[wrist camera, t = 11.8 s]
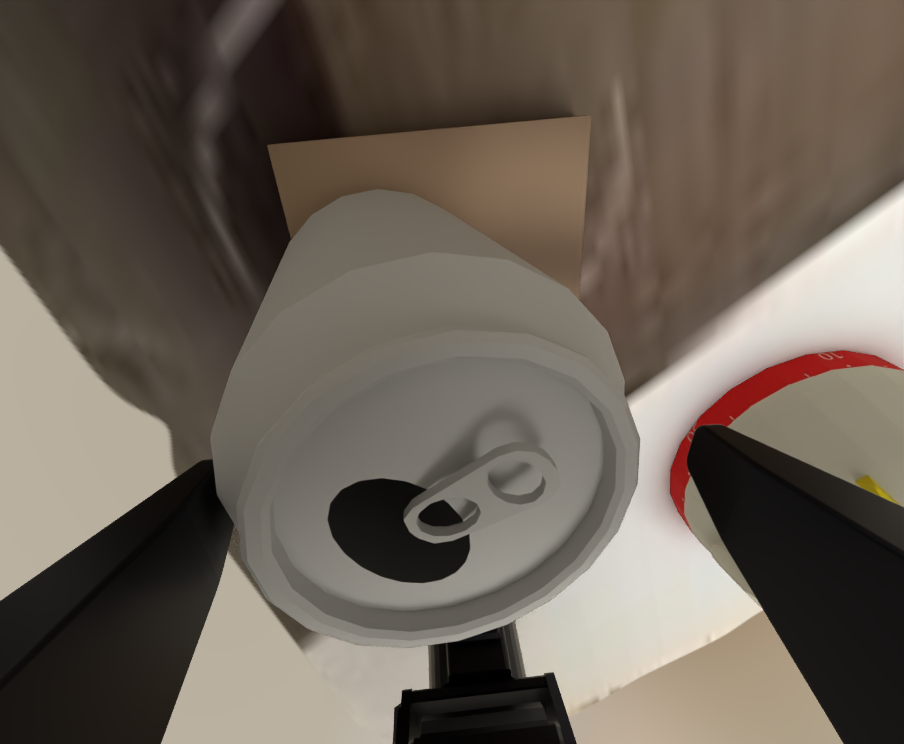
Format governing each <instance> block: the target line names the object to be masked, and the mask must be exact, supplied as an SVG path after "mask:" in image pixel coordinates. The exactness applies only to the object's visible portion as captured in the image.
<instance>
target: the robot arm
mask: <svg viewBox="0 0 904 744" xmlns="http://www.w3.org/2000/svg"><path fill="white" fill-rule="evenodd" d="M687 468H688V471H689V473H690V475H691V477H692V479H693V481H694V483H695V486H696V488H697V490H698V492H699V494H700V496H701V498H702V500H703V503H704V505H705V507H706V509H707V511H708V513H709V515H710V517H711V520H712V522H713V524H714V526H715V528H716V530H717V532H718V534H719V536H720V538H721V540H722V541H723V543H724V545H725V547H726V548H727V550H728V552H729V554H730V555H731V557H732V559H733V560H734V562H735V564H736V565H737V567H738V569H739V570H740V572H741V574H742V575H743V577H744V579H745V580H746V582H747V584H748V585H749V587H750V589H751V590H752V592H753V594H754V595H755V597H756V599H757V600H758V602H759V604H760V605H761V607H762V609H763V610H764V612H765V613H766V615H767V617H768V619H769V620H770V622H771V623H772V625H773V627H774V628H775V630H776V632H777V634H778V635H779V637H780V638H781V640H782V642H783V643H784V645H785V647H786V649H787V650H788V652H789V653H790V655H791V657H792V658H793V660H794V662H795V663H796V665H797V667H798V668H799V670H800V672H801V673H802V675H803V677H804V678H805V680H806V682H807V683H808V685H809V687H810V688H811V690H812V692H813V693H814V695H815V697H816V698H817V700H818V702H819V703H820V705H821V707H822V708H823V710H824V712H825V713H826V715H827V717H828V718H829V720H830V722H831V723H832V725H833V727H834V728H835V730H836V732H837V733H838V735H839V737H840V738H841V740H842V742H843V743H844V744H904V507H903V506H900V505H898V504H896V503H894V502H892V501H889V500H887V499H885V498H883V497H881V496H878V495H876V494H874V493H872V492H870V491H867V490H865V489H863V488H861V487H859V486H856V485H854V484H852V483H850V482H847V481H845V480H843V479H841V478H839V477H836V476H834V475H832V474H830V473H828V472H825V471H823V470H821V469H819V468H817V467H814V466H812V465H810V464H808V463H806V462H803V461H801V460H799V459H797V458H795V457H792V456H790V455H788V454H786V453H783V452H781V451H779V450H777V449H775V448H772V447H770V446H768V445H766V444H764V443H761V442H759V441H757V440H755V439H753V438H750V437H748V436H746V435H744V434H742V433H739V432H737V431H735V430H733V429H731V428H728V427H726V426H724V425H721V424H710V425H701V426H698V427H697V428H696V430H695V432H694V435H693V438H692V442H691V445H690V448H689V451H688V455H687ZM233 526H234V523H233V521H232V519H231V518H230V516H229V514H228V513H227V511H226V509H225V508H224V506H223V504H222V503H221V501H220V499H219V497H218V496H217V492H216V483H215V474H214V466H213V459H210V460H202V461H200V462H198V463H197V464H195V465H194V466H193V467H191V468H190V469H188V470H187V471H185V472H184V473H183V474H181V475H180V476H178V477H177V478H175V479H174V480H173V481H171V482H170V483H169V484H167V485H166V486H164V487H163V488H161V489H160V490H158V491H157V492H155V493H154V494H153V495H152V496H150V497H148V498H147V499H145V500H144V501H143V502H141V503H140V504H138V505H137V506H135V507H134V508H133V509H131V510H130V511H128V512H127V513H125V514H124V515H123V516H121V517H120V518H118V519H117V520H115V521H114V522H113V523H111V524H110V525H108V526H107V527H105V528H104V529H103V530H101V531H100V532H98V533H97V534H96V535H94V536H93V537H91V538H90V539H88V540H87V541H85V542H84V543H82V544H81V545H80V546H78V547H77V548H75V549H74V550H72V551H71V552H70V553H68V554H67V555H65V556H64V557H62V558H61V559H60V560H58V561H57V562H55V563H54V564H53V565H51V566H50V567H48V568H47V569H45V570H44V571H42V572H41V573H40V574H38V575H37V576H35V577H34V578H33V579H31V580H30V581H28V582H27V583H25V584H24V585H23V586H21V587H20V588H18V589H17V590H15V591H14V592H12V593H11V594H9V595H8V596H7V597H5V598H4V599H3V600H1V601H0V744H161V742H162V739H163V736H164V734H165V731H166V728H167V725H168V723H169V720H170V717H171V714H172V712H173V709H174V706H175V704H176V700H177V698H178V695H179V692H180V690H181V687H182V684H183V682H184V679H185V675H186V673H187V670H188V668H189V665H190V662H191V660H192V657H193V654H194V651H195V648H196V646H197V643H198V640H199V638H200V635H201V632H202V629H203V627H204V624H205V621H206V618H207V615H208V613H209V610H210V607H211V605H212V602H213V599H214V596H215V594H216V591H217V588H218V585H219V581H220V578H221V575H222V571H223V567H224V563H225V559H226V555H227V551H228V547H229V543H230V539H231V535H232V531H233ZM428 650H429V689H423V690H414V691H412V689H406V690H402V700H401V704H399V705H398V706H396V707H395V708H394V733H393V744H576V740H575V737H574V734H573V731H572V728H571V725H570V722H569V719H568V715H567V712H566V709H565V706H564V703H563V700H562V697H561V694H560V691H559V688H558V685H557V681H556V678H555V675H554V673H553V672H551V673H544V675H542V676H533V677H526V674H525V669H524V664H523V659H522V654H521V649H520V644H519V639H518V634H517V629H516V624H515V620H514V621H513V622H511V623H509V624H507V625H504V626H501V627H498V628H495V629H492V630H489V631H486V632H484V633H481V634H478V635H475V636H472V637H469V638H466V639H463V640H460V641H454V642H447V643H440V644H434V645H428Z"/></svg>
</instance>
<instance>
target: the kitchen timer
mask: <svg viewBox="0 0 904 744" xmlns="http://www.w3.org/2000/svg"><path fill="white" fill-rule="evenodd" d="M710 424H721V425H724V426H726V427H728V428H731V429H733V430H735V431H737V432H739V433H742V434H744V435H746V436H748V437H750V438H753V439H755V440H757V441H759V442H761V443H764V444H766V445H768V446H770V447H772V448H775V449H777V450H779V451H781V452H783V453H786V454H788V455H790V456H792V457H795V458H797V459H799V460H801V461H803V462H806V463H808V464H810V465H812V466H814V467H817V468H819V469H821V470H823V471H825V472H828V473H830V474H832V475H834V476H836V477H839V478H841V479H843V480H845V481H847V482H850V483H852V484H854V485H856V486H859V487H861V488H863V489H865V490H867V491H870V492H872V493H874V494H876V495H878V496H881V497H883V498H885V499H887V500H889V501H892V502H894V503H896V504H898V505H900V506H903V507H904V370H903V369H901V368H899V367H897V366H895V365H893V364H891V363H889V362H887V361H885V360H883V359H881V358H879V357H877V356H874V355H868V354H862V353H856V352H850V351H844V350H843V351H835V352H826V353H818V354H809V355H804V356H801V357H798V358H796V359H793V360H790V361H787V362H784V363H781V364H778V365H775V366H773V367H770V368H767V369H765V370H763V371H762V372H760V373H758V374H757V375H755V376H753V377H751V378H750V379H748V380H746V381H745V382H743V383H741V384H739V385H738V386H736V387H734V388H733V389H731V390H730V391H728V392H727V393H726V394H725V395H724V396H723V397H722V398H721V399H719V400H718V401H717V402H716V403H715V404H714V405H713V406H711V407H710V408H709V409H708V410H707V411H706V412H705V413H703V414H702V415H701V416H700V418H699V419H698V420H697V422H696V423H695V425H694V426H693V427H692V429H691V430H690V431H689V433H688V434H687V435H686V437H685V438H684V439H683V441H682V442H681V444H680V447H679V449H678V452H677V454H676V457H675V460H674V462H673V465H672V467H671V474H670V494H671V496H672V499H673V501H674V503H675V505H676V508H677V510H678V512H679V514H680V515H681V517H682V518H683V520H684V521H685V523H686V524H687V526H688V527H689V529H690V530H691V532H692V533H693V534H694V535H695V537H696V538H697V539H698V540H699V541H700V543H701V544H702V545H703V546H704V547H705V548H706V549H707V550H708V551H709V552H710V553H711V554H712V556H713V558H714V559H715V561H716V562H717V563H718V564H719V565H720V566H721V567H722V568H723V569H724V570H725V572H726V573H727V574H728V575H729V576H730V577H731V578H732V579H733V580H734V581H735V582H736V583H737V584H738V585H739V586H740V587H741V588H742V589H743V590H744V591H745V592H746V593H747V594H748V595H749V596H750V597H751V598H752V599H753V600H754V601H755V602H756V603H757V604H758V605H759V606H760V607H761V605H760V604H759V602H758V600H757V599H756V597H755V595H754V594H753V592H752V590H751V589H750V587H749V585H748V584H747V582H746V580H745V579H744V577H743V575H742V574H741V572H740V570H739V569H738V567H737V565H736V564H735V562H734V560H733V559H732V557H731V555H730V554H729V552H728V550H727V548H726V547H725V545H724V543H723V541H722V540H721V538H720V536H719V534H718V532H717V530H716V528H715V526H714V524H713V522H712V520H711V517H710V515H709V513H708V511H707V509H706V507H705V505H704V503H703V500H702V498H701V496H700V494H699V492H698V490H697V488H696V486H695V483H694V481H693V479H692V477H691V475H690V473H689V471H688V468H687V455H688V451H689V448H690V445H691V442H692V438H693V435H694V432H695V430H696V428H697V427H698V426H701V425H710ZM761 608H762V607H761Z"/></svg>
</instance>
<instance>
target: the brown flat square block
mask: <svg viewBox="0 0 904 744" xmlns="http://www.w3.org/2000/svg"><path fill="white" fill-rule="evenodd" d="M590 128H591V115H587V116H571V117H560V118H549V119H538V120H528V121H517V122H506V123H495V124H484V125H473V126H462V127H452V128H441V129H430V130H419V131H408V132H397V133H387V134H376V135H365V136H354V137H343V138H332V139H322V140H311V141H300V142H289V143H279V144H272V145H267V147H268V151H269V155H270V159H271V163H272V167H273V171H274V175H275V179H276V182H277V186H278V190H279V194H280V198H281V202H282V206H283V210H284V214H285V218H286V221H287V225H288V229H289V233H290V237H291V240H292V239H293V237H294V236H295V235H296V234H297V232H298V231H299V230H300V229H301V227H302V226H303V225H304V224H305V222H306V221H307V220H308V219H309V217H310V216H311V215H312V214H314V213H316V212H317V211H319V210H320V209H322V208H324V207H325V206H327V205H329V204H330V203H332V202H334V201H335V200H337V199H339V198H340V197H342V196H346V195H351V194H356V193H361V192H365V191H370V190H375V189H382V190H389V191H397V192H404V193H411V194H415V195H417V196H419V197H421V198H423V199H425V200H427V201H429V202H431V203H433V204H435V205H437V206H439V207H441V208H443V209H445V210H446V211H448V212H449V213H451V214H452V215H454V216H455V217H457V218H459V219H460V220H462V221H463V222H465V223H466V224H468V225H470V226H471V227H473V228H474V229H476V230H477V231H479V232H481V233H482V234H484V235H485V236H487V237H488V238H490V239H492V240H493V241H495V242H496V243H498V244H499V245H501V246H502V247H504V248H506V249H507V250H509V251H510V252H512V253H513V254H515V255H517V256H518V257H520V258H521V259H523V260H524V261H526V262H528V263H529V264H531V265H532V266H534V267H535V268H537V269H539V270H540V271H542V272H543V273H545V274H546V275H548V276H549V277H551V278H553V279H554V280H556V281H557V282H559V283H560V284H562V285H564V286H565V287H567V288H568V289H569V290H570V291H571V292H572V293H573V294H574V295H575V296H576V297H577V299H578V300H579V293H580V278H581V263H582V248H583V233H584V218H585V203H586V188H587V173H588V158H589V143H590Z"/></svg>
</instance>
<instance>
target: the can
mask: <svg viewBox="0 0 904 744" xmlns="http://www.w3.org/2000/svg"><path fill="white" fill-rule="evenodd" d="M624 385H625V381H624V378H623V375H622V372H621V369H620V366H619V363H618V360H617V358H616V355H615V352H614V349H613V346H612V343H611V340H610V337H609V335H608V332H607V331H606V330H605V328H604V327H603V326H602V325H601V324H600V323H599V322H598V321H597V320H596V318H595V317H594V316H593V315H592V314H591V313H590V312H589V311H588V310H587V308H586V307H585V306H584V305H583V304H582V303H581V302H580V301H579V300H578V299H577V297H576V296H575V295H574V294H573V293H572V292H571V291H570V290H569V289H568V288H567V287H565V286H564V285H562V284H560V283H559V282H557V281H556V280H554V279H553V278H551V277H549V276H548V275H546V274H545V273H543V272H542V271H540V270H539V269H537V268H535V267H534V266H532V265H531V264H529V263H528V262H526V261H524V260H523V259H521V258H520V257H518V256H517V255H515V254H513V253H512V252H510V251H509V250H507V249H506V248H504V247H502V246H501V245H499V244H498V243H496V242H495V241H493V240H492V239H490V238H488V237H487V236H485V235H484V234H482V233H481V232H479V231H477V230H476V229H474V228H473V227H471V226H470V225H468V224H466V223H465V222H463V221H462V220H460V219H459V218H457V217H455V216H454V215H452V214H451V213H449V212H448V211H446V210H445V209H443V208H441V207H439V206H437V205H435V204H433V203H431V202H429V201H427V200H425V199H423V198H421V197H419V196H417V195H415V194H411V193H404V192H397V191H389V190H382V189H375V190H370V191H365V192H361V193H356V194H351V195H346V196H342V197H340V198H339V199H337V200H335V201H334V202H332V203H330V204H329V205H327V206H325V207H324V208H322V209H320V210H319V211H317V212H316V213H314V214H312V215H311V216H310V217H309V219H308V220H307V221H306V222H305V224H304V225H303V226H302V227H301V229H300V230H299V231H298V232H297V234H296V235H295V236H294V237H293V239H292V240H291V241H290V242H289V244H288V247H287V249H286V251H285V253H284V255H283V258H282V260H281V262H280V264H279V266H278V269H277V271H276V273H275V275H274V277H273V280H272V282H271V284H270V286H269V288H268V291H267V293H266V295H265V297H264V299H263V302H262V304H261V306H260V308H259V311H258V313H257V315H256V317H255V319H254V322H253V324H252V326H251V328H250V330H249V333H248V335H247V337H246V339H245V341H244V344H243V346H242V348H241V350H240V352H239V355H238V357H237V359H236V361H235V363H234V366H233V368H232V370H231V372H230V375H229V379H228V382H227V385H226V388H225V391H224V394H223V397H222V400H221V404H220V407H219V410H218V413H217V416H216V419H215V422H214V425H213V429H212V432H211V435H210V439H211V448H212V457H213V466H214V474H215V483H216V492H217V496H218V497H219V499H220V501H221V503H222V504H223V506H224V508H225V509H226V511H227V513H228V514H229V516H230V518H231V519H232V521H233V523H234V524H235V526H236V528H237V529H238V531H239V542H240V553H241V559H242V560H243V562H244V564H245V565H246V567H247V568H248V570H249V572H250V573H251V575H252V577H253V578H254V580H255V581H256V583H257V585H258V586H259V588H260V590H261V591H262V593H263V594H264V596H265V598H266V599H267V600H268V601H269V602H271V603H272V604H274V605H275V606H276V607H278V608H279V609H281V610H282V611H283V612H285V613H286V614H288V615H289V616H290V617H292V618H293V619H295V620H296V621H297V622H299V623H300V624H302V625H303V626H304V627H306V628H308V629H310V630H312V631H315V632H318V633H321V634H324V635H328V636H331V637H334V638H337V639H340V640H343V641H347V642H350V643H353V644H356V645H365V646H381V647H398V648H413V647H420V646H427V645H434V644H440V643H447V642H454V641H460V640H463V639H466V638H469V637H472V636H475V635H478V634H481V633H484V632H486V631H489V630H492V629H495V628H498V627H501V626H504V625H507V624H509V623H511V622H513V621H514V620H516V619H518V618H520V617H522V616H523V615H525V614H527V613H529V612H531V611H532V610H534V609H536V608H538V607H540V606H541V605H543V604H545V603H547V602H549V601H550V600H552V599H553V598H554V597H556V596H557V595H558V594H559V593H560V592H561V591H563V590H564V589H565V588H566V587H567V586H569V585H570V584H571V583H572V582H573V581H575V580H576V579H577V578H578V577H579V576H581V575H582V574H583V573H584V572H585V571H587V570H588V569H589V568H590V567H591V565H592V564H593V563H594V561H595V560H596V559H597V557H598V556H599V555H600V554H601V552H602V551H603V550H604V548H605V547H606V546H607V545H608V543H609V542H610V541H611V539H612V538H613V537H614V535H615V534H616V533H617V532H618V530H619V527H620V525H621V523H622V520H623V518H624V515H625V513H626V510H627V508H628V506H629V503H630V501H631V498H632V496H633V494H634V491H635V489H636V486H637V482H638V466H639V450H640V437H639V434H638V432H637V429H636V426H635V423H634V420H633V417H632V415H631V412H630V409H629V406H628V403H627V401H626V398H625V395H624Z"/></svg>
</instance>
